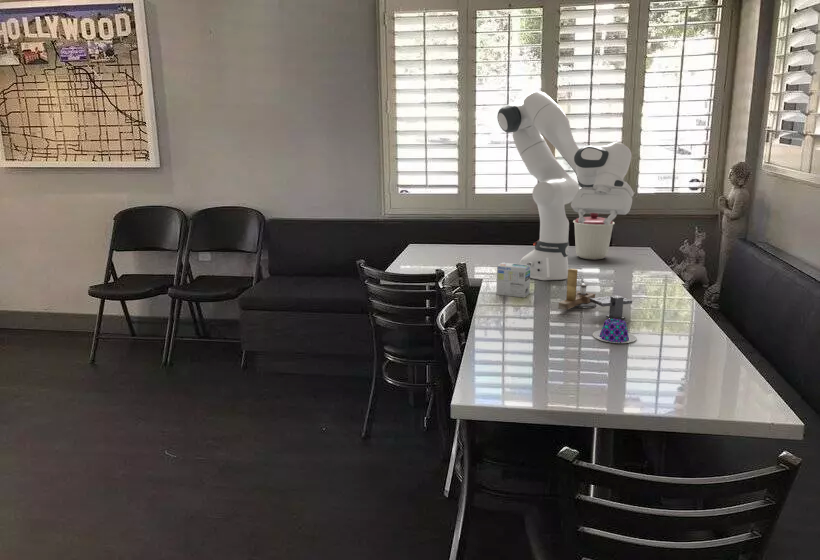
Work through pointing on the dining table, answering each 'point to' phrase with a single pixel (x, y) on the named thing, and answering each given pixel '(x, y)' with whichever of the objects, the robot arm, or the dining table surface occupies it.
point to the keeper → (612, 305)
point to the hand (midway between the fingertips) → (593, 223)
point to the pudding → (614, 332)
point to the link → (573, 293)
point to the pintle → (583, 292)
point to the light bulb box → (513, 279)
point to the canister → (592, 237)
